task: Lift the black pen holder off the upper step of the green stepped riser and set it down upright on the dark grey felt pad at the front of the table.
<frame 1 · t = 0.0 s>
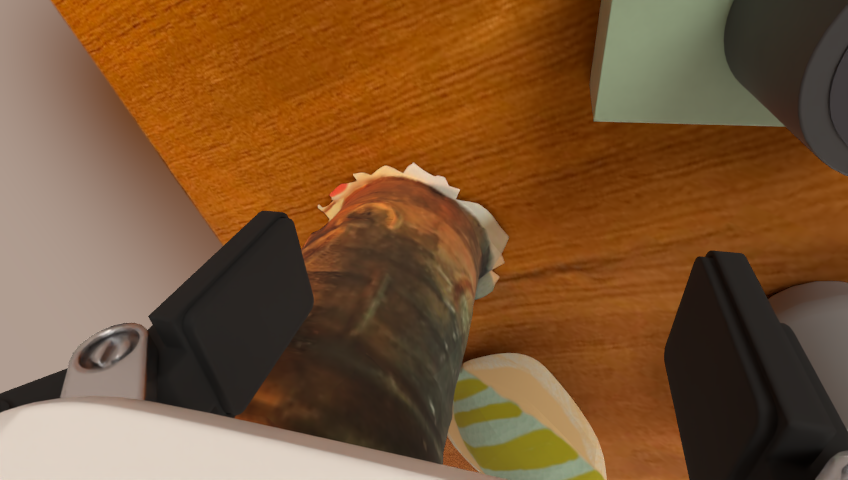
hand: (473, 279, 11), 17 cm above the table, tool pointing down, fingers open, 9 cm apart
vessel: (409, 236, 33), on the table
decorative fish sculpture: (522, 388, 39), on the table
cup: (810, 314, 28), on the table
holder: (825, 14, 16), point 5 cm above the table, touching green stepped riser
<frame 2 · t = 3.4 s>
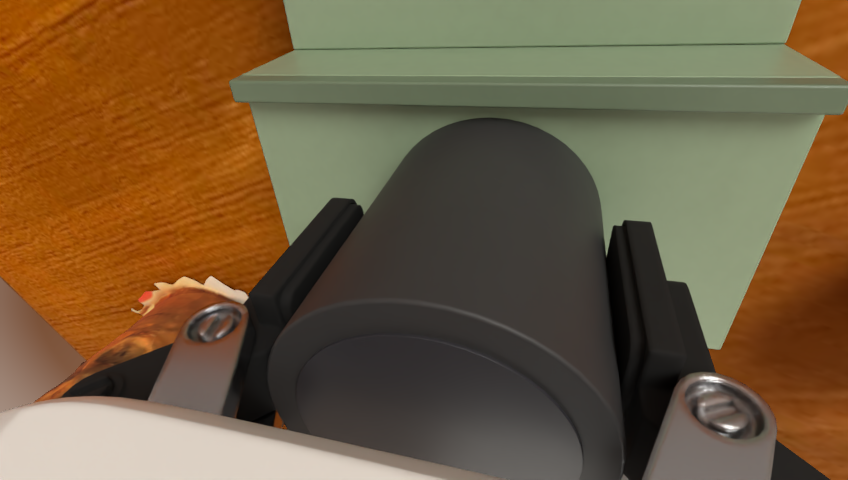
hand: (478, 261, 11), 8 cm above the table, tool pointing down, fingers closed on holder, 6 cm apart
vessel: (231, 341, 30), on the table
green stepped riser: (514, 62, 16), on the table
holder: (489, 218, 13), point 6 cm above the table, touching gripper, green stepped riser
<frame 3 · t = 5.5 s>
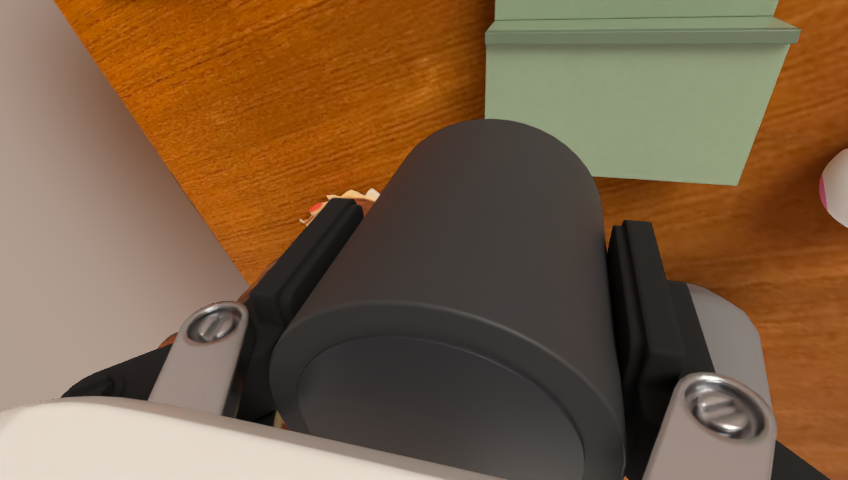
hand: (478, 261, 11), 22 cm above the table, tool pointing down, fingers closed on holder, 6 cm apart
vessel: (371, 244, 42), on the table
green stepped riser: (616, 30, 27), on the table
cup: (673, 308, 37), on the table
holder: (490, 219, 13), point 20 cm above the table, touching gripper
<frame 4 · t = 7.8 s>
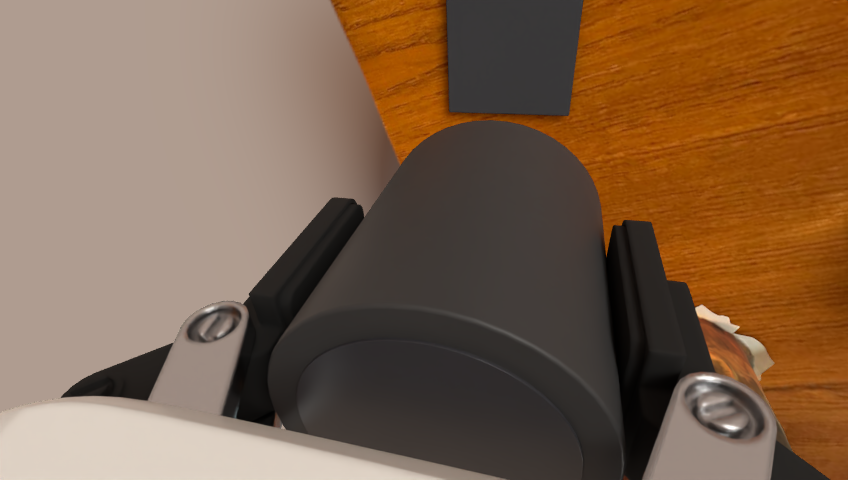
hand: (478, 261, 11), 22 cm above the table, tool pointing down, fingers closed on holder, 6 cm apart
vessel: (670, 352, 39), on the table
pad: (510, 49, 29), on the table
holder: (490, 220, 13), point 20 cm above the table, touching gripper
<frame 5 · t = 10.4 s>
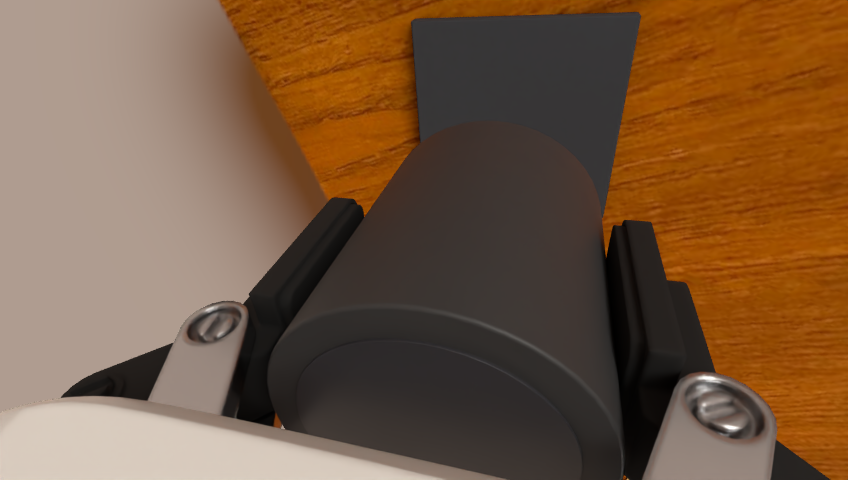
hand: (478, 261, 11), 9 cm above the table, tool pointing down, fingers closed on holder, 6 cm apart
pad: (514, 121, 19), on the table
holder: (489, 220, 13), point 7 cm above the table, touching gripper
when the fingers open (3 cm above the table, at t = 12.5 s): holder stays where it is, resting on pad.
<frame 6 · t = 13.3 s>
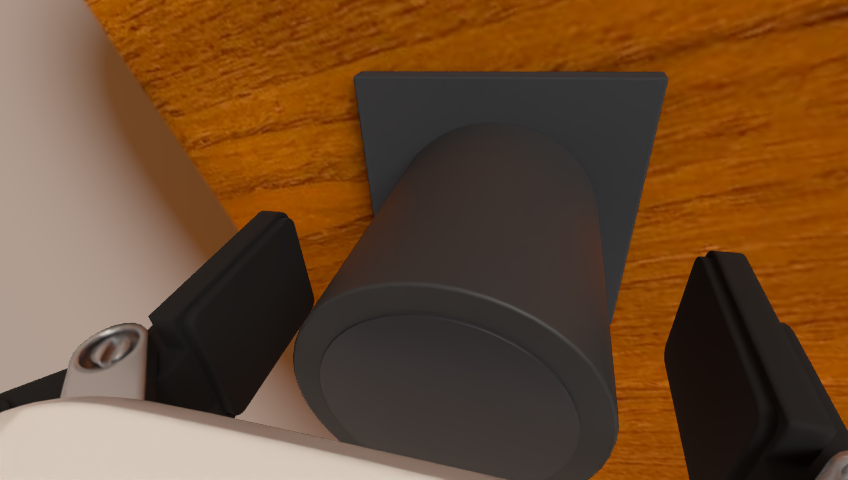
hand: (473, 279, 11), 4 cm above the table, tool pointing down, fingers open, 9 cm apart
pad: (496, 202, 14), on the table
holder: (493, 216, 14), point 1 cm above the table, touching pad
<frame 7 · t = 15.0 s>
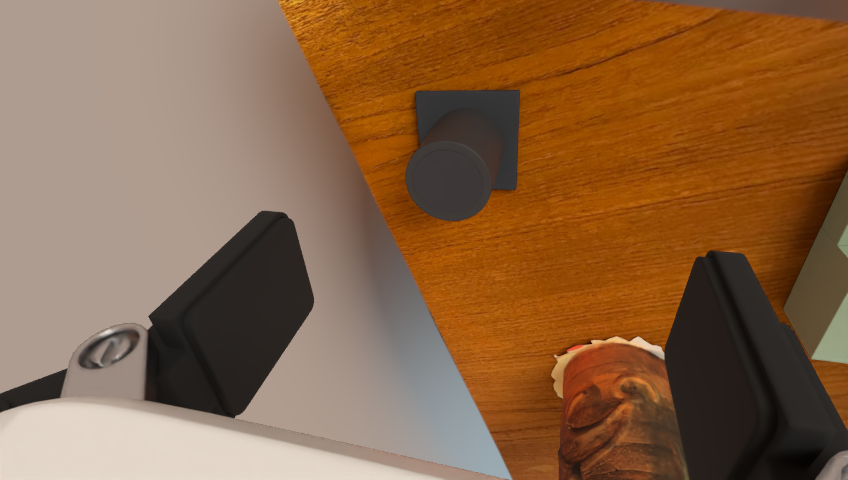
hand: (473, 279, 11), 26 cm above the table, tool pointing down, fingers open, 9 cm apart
vessel: (618, 376, 46), on the table
pad: (468, 140, 37), on the table
holder: (466, 145, 36), point 1 cm above the table, touching pad
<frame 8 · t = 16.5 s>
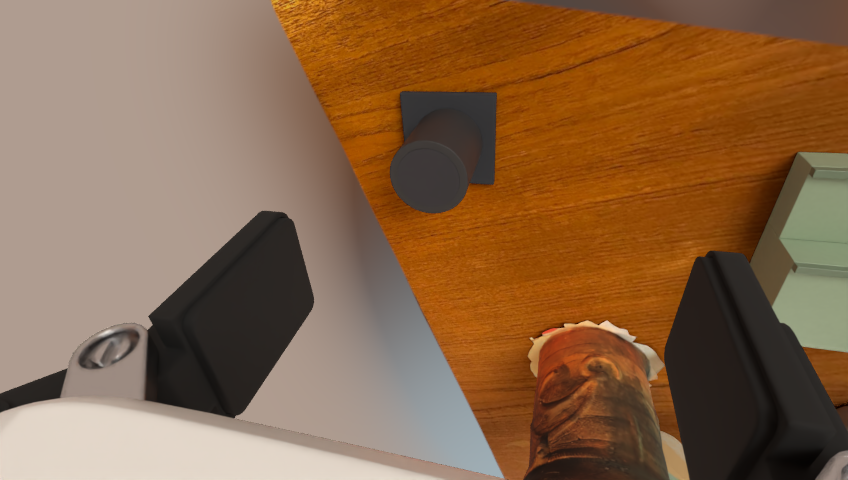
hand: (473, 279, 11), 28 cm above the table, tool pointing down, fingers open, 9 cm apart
vessel: (589, 357, 50), on the table
pad: (449, 137, 39), on the table
decorative fish sculpture: (645, 446, 56), on the table
holder: (448, 142, 39), point 1 cm above the table, touching pad
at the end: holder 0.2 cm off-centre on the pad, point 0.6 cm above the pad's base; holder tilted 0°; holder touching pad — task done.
